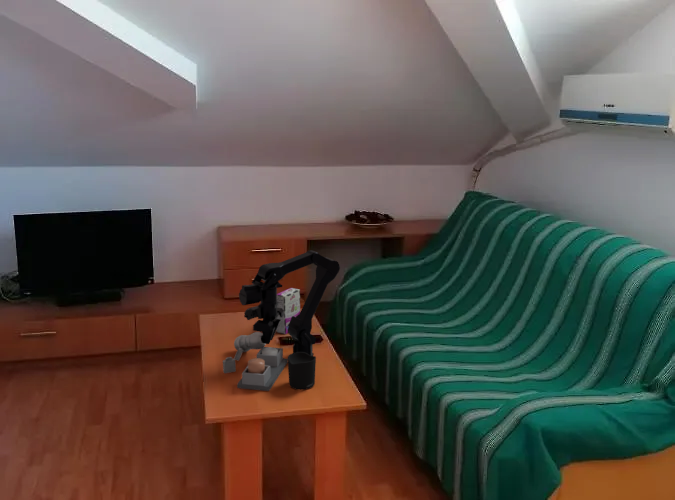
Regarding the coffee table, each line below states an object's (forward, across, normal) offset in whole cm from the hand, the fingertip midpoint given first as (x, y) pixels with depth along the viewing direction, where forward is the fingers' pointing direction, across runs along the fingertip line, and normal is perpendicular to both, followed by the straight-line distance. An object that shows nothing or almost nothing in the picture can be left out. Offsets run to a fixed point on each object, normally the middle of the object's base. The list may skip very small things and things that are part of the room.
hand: (269, 342), depth 243 cm
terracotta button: (+5, +16, 0) cm, 17 cm away
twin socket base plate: (+9, +8, 0) cm, 12 cm away
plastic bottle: (+7, -11, -15) cm, 20 cm away
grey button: (+7, 0, 0) cm, 7 cm away
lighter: (+10, +7, -11) cm, 16 cm away
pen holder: (+9, +13, +15) cm, 22 cm away
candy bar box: (+9, -37, -3) cm, 38 cm away
